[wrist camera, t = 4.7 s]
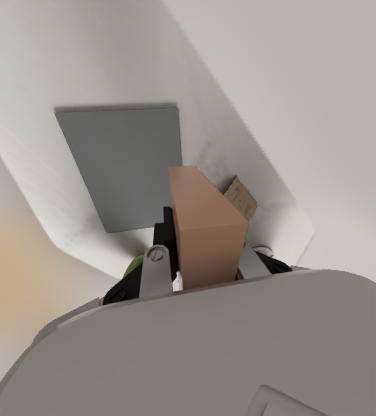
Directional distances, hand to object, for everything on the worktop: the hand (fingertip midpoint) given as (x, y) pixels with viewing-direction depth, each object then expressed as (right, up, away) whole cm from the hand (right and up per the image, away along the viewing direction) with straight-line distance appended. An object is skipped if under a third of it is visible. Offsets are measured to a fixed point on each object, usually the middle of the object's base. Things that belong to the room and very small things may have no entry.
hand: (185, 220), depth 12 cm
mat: (-9, +6, +13) cm, 16 cm away
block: (0, +1, +1) cm, 2 cm away
